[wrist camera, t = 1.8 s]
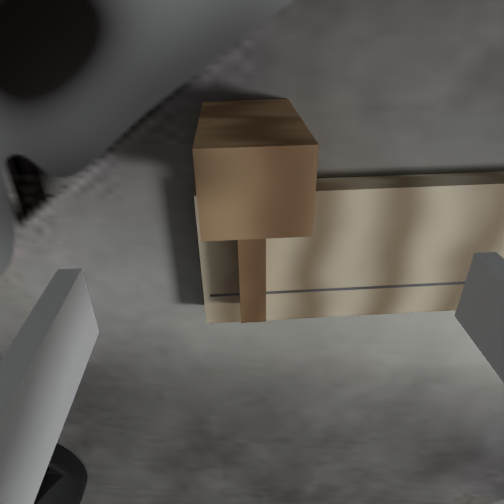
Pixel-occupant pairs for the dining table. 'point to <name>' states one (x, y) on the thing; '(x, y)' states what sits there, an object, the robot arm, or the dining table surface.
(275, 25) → the dining table surface
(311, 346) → the dining table surface
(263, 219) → the brown block with tab
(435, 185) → the board
